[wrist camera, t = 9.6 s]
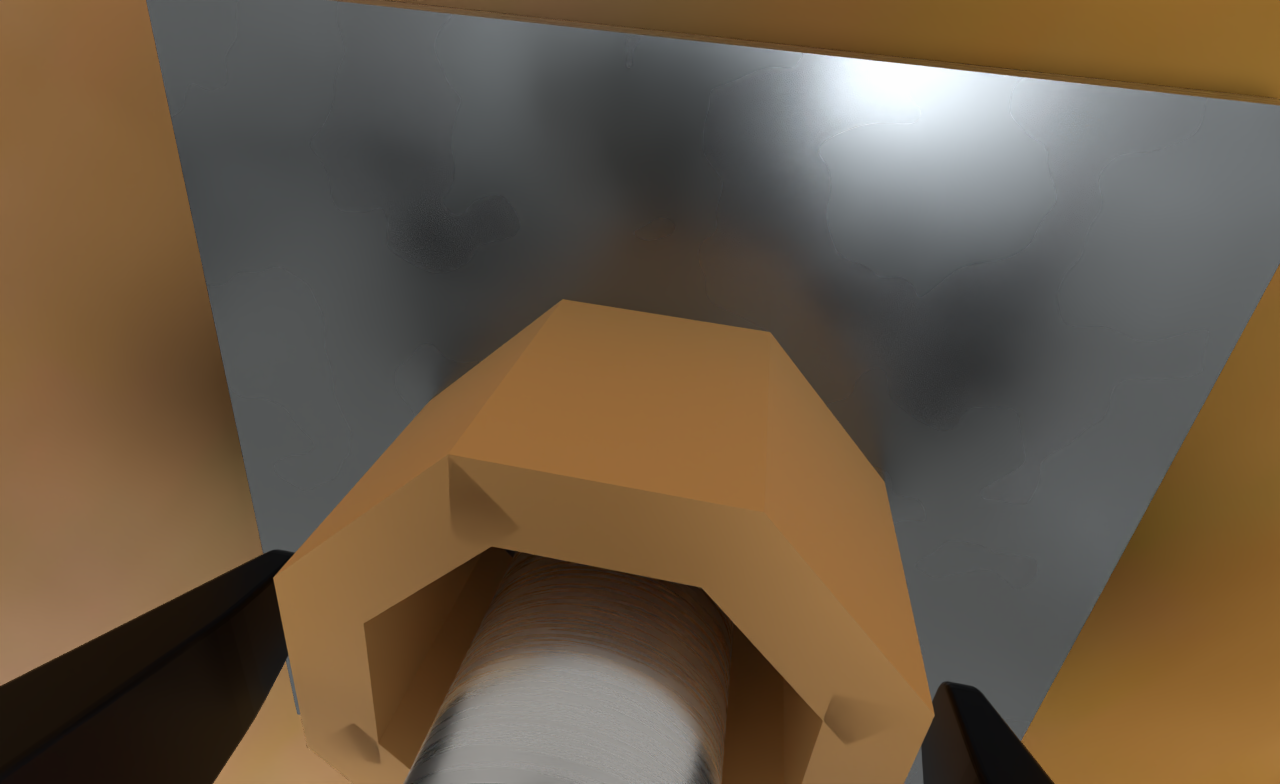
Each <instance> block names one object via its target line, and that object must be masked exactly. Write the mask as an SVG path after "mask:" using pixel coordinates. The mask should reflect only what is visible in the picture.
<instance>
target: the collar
mask: <svg viewBox="0 0 1280 784" xmlns="http://www.w3.org/2000/svg"><path fill="white" fill-rule="evenodd" d="M504 549H508V550H513V551H518V552H523V553H528V554H533V555H538V556H543V557H548V558H554V559H559V560H564V561H569V562H574V563H579V564H584V565H589V566H594V567H599V568H604V569H609V570H615V571H620V572H625V573H630V574H635V575H640V576H645V577H650V578H655V579H660V580H665V581H671V582H676V583H681V584H686V585H691V586H696V587H701V588H702V589H703V590H704V591H705V592H706V593H707V594H708V595H709V596H710V597H711V599H712V600H713V601H714V602H715V603H716V604H717V605H718V606H719V607H720V608H721V610H722V611H723V612H724V613H725V614H726V615H727V616H728V617H729V618H730V619H731V621H732V622H733V623H734V628H733V641H732V654H731V667H730V680H729V693H728V706H727V718H726V731H725V744H724V757H723V770H722V783H721V784H904V782H905V780H906V778H907V776H908V773H909V771H910V769H911V767H912V764H913V762H914V760H915V758H916V756H917V753H918V751H919V749H920V747H921V745H922V742H923V740H924V738H925V736H926V734H927V731H928V729H929V727H930V725H931V722H932V720H933V718H934V716H935V714H934V709H933V705H932V700H931V695H930V691H929V686H928V681H927V677H926V672H925V667H924V663H923V658H922V653H921V649H920V644H919V640H918V635H917V630H916V626H915V621H914V616H913V612H912V607H911V602H910V598H909V593H908V588H907V584H906V579H905V574H904V570H903V565H902V561H901V556H900V551H899V547H898V542H897V537H896V533H895V528H894V523H893V519H892V514H891V509H890V505H889V500H888V495H887V491H886V486H885V482H884V480H883V479H882V478H881V477H880V475H879V474H878V473H877V471H876V470H875V469H874V467H873V466H872V465H871V463H870V462H869V461H868V460H867V458H866V457H865V456H864V454H863V453H862V452H861V450H860V449H859V448H858V446H857V445H856V444H855V442H854V441H853V440H852V439H851V437H850V436H849V435H848V433H847V432H846V431H845V429H844V428H843V427H842V425H841V424H840V423H839V421H838V420H837V419H836V418H835V416H834V415H833V414H832V412H831V411H830V410H829V408H828V407H827V406H826V404H825V403H824V402H823V400H822V399H821V398H820V397H819V395H818V394H817V393H816V391H815V390H814V389H813V387H812V386H811V385H810V383H809V382H808V381H807V380H806V378H805V377H804V376H803V374H802V373H801V372H800V370H799V369H798V368H797V366H796V365H795V364H794V362H793V361H792V360H791V359H790V357H789V356H788V355H787V353H786V352H785V351H784V349H783V348H782V347H781V345H780V344H779V343H778V341H777V340H776V339H775V338H774V336H773V335H772V334H771V332H766V331H760V330H754V329H748V328H741V327H735V326H729V325H722V324H716V323H710V322H703V321H697V320H691V319H685V318H678V317H672V316H666V315H659V314H653V313H647V312H640V311H634V310H628V309H622V308H615V307H609V306H603V305H596V304H590V303H584V302H577V301H571V300H565V299H562V300H561V301H560V302H558V303H557V304H556V305H554V306H553V307H552V308H551V309H549V310H548V311H547V312H545V313H544V314H543V315H541V316H540V317H539V318H537V319H536V320H535V321H534V322H532V323H531V324H530V325H528V326H527V327H526V328H524V329H523V330H522V331H520V332H519V333H518V334H517V335H515V336H514V337H513V338H511V339H510V340H509V341H507V342H506V343H505V344H503V345H502V346H501V347H500V348H498V349H497V350H496V351H494V352H493V353H492V354H490V355H489V356H488V357H486V358H485V359H484V360H483V361H481V362H480V363H479V364H477V365H476V366H475V367H473V368H472V369H471V370H469V371H468V372H467V373H466V374H464V375H463V376H462V377H460V378H459V379H458V380H456V381H455V382H454V383H453V384H451V385H450V386H449V387H447V388H446V389H445V390H443V391H442V392H441V393H439V394H438V395H437V396H436V397H434V398H433V399H432V400H430V401H429V402H428V403H427V404H426V405H425V407H424V408H423V409H422V410H421V411H420V412H419V413H418V415H417V416H416V417H415V418H414V419H413V420H412V421H411V422H410V424H409V425H408V426H407V427H406V428H405V429H404V430H403V431H402V433H401V434H400V435H399V436H398V437H397V438H396V439H395V441H394V442H393V443H392V444H391V445H390V446H389V447H388V448H387V450H386V451H385V452H384V453H383V454H382V455H381V456H380V457H379V459H378V460H377V461H376V462H375V463H374V464H373V465H372V467H371V468H370V469H369V470H368V471H367V472H366V473H365V474H364V476H363V477H362V478H361V479H360V480H359V481H358V482H357V483H356V485H355V486H354V487H353V488H352V489H351V490H350V491H349V493H348V494H347V495H346V496H345V497H344V498H343V499H342V500H341V502H340V503H339V504H338V505H337V506H336V507H335V508H334V509H333V511H332V512H331V513H330V514H329V515H328V516H327V517H326V518H325V520H324V521H323V522H322V523H321V524H320V525H319V526H318V528H317V529H316V530H315V531H314V532H313V533H312V534H311V535H310V537H309V538H308V539H307V540H306V541H305V542H304V543H303V544H302V546H301V547H300V548H299V549H298V550H297V551H296V552H295V554H294V555H293V556H292V557H291V558H290V559H289V560H288V561H287V563H286V564H285V565H284V566H283V567H282V568H281V569H280V570H279V572H278V573H277V574H276V575H275V576H274V577H273V580H274V585H275V590H276V595H277V600H278V605H279V610H280V615H281V620H282V625H283V630H284V635H285V640H286V645H287V650H288V655H289V660H290V665H291V670H292V675H293V680H294V685H295V690H296V695H297V700H298V705H299V710H300V715H301V720H302V725H303V730H304V735H305V740H306V745H307V747H308V748H309V749H310V750H311V751H313V752H314V753H315V754H316V755H318V756H319V757H320V758H321V759H323V760H324V761H325V762H326V763H328V764H329V765H330V766H331V767H333V768H334V769H335V770H336V771H337V772H339V773H340V774H341V775H342V776H344V777H345V778H346V779H347V780H349V781H350V782H351V783H352V784H404V781H405V779H406V777H407V775H408V773H409V771H410V769H411V767H412V765H413V763H414V761H415V759H416V757H417V755H418V753H419V750H420V748H421V746H422V744H423V742H424V740H425V738H426V736H427V734H428V732H429V730H430V728H431V726H432V724H433V722H434V720H435V717H436V715H437V713H438V711H439V709H440V707H441V705H442V703H443V701H444V699H445V697H446V695H447V693H448V691H449V689H450V686H451V684H452V682H453V680H454V678H455V676H456V674H457V672H458V670H459V668H460V666H461V664H462V662H463V660H464V658H465V656H466V653H467V651H468V649H469V647H470V645H471V643H472V641H473V639H474V637H475V635H476V633H477V631H478V629H479V627H480V625H481V623H482V620H483V618H484V616H485V614H486V612H487V610H488V608H489V606H490V604H491V602H492V600H493V598H494V596H495V594H496V592H497V589H498V587H499V585H500V583H501V581H502V579H503V577H504V575H505V573H506V571H507V569H508V567H509V565H510V563H511V561H512V559H513V558H512V557H511V556H510V555H509V554H508V553H507V552H506V551H505V550H504Z"/></svg>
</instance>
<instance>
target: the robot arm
mask: <svg viewBox="0 0 1280 784" xmlns="http://www.w3.org/2000/svg"><path fill="white" fill-rule="evenodd" d="M294 554H295V552H290V551H285V550H280V549H274V550H271V551H268V552H266V553H264V554H262V555H260V556H258V557H256V558H254V559H252V560H250V561H248V562H246V563H244V564H242V565H240V566H238V567H236V568H234V569H232V570H230V571H228V572H226V573H224V574H222V575H220V576H218V577H216V578H214V579H212V580H210V581H208V582H206V583H204V584H202V585H200V586H198V587H196V588H194V589H193V590H191V591H189V592H187V593H185V594H183V595H181V596H179V597H177V598H175V599H173V600H171V601H169V602H167V603H165V604H163V605H161V606H159V607H157V608H155V609H153V610H151V611H149V612H147V613H145V614H143V615H141V616H139V617H137V618H135V619H133V620H131V621H129V622H127V623H125V624H123V625H121V626H119V627H117V628H115V629H113V630H111V631H109V632H107V633H105V634H103V635H101V636H99V637H97V638H95V639H93V640H91V641H89V642H87V643H85V644H83V645H81V646H79V647H77V648H75V649H73V650H71V651H69V652H67V653H65V654H63V655H61V656H59V657H57V658H55V659H53V660H51V661H49V662H47V663H45V664H43V665H41V666H39V667H37V668H35V669H33V670H31V671H29V672H27V673H25V674H23V675H21V676H19V677H17V678H15V679H13V680H11V681H9V682H7V683H5V684H3V685H1V686H0V784H213V783H214V781H215V780H216V778H217V777H218V775H219V774H220V772H221V770H222V769H223V767H224V766H225V764H226V763H227V761H228V760H229V758H230V757H231V755H232V754H233V752H234V751H235V749H236V747H237V746H238V744H239V743H240V741H241V740H242V738H243V737H244V735H245V734H246V732H247V730H248V729H249V727H250V726H251V724H252V722H253V721H254V719H255V718H256V716H257V714H258V712H259V710H260V709H261V707H262V705H263V703H264V701H265V700H266V698H267V696H268V694H269V692H270V690H271V688H272V686H273V684H274V682H275V680H276V678H277V676H278V675H279V673H280V671H281V669H282V667H283V665H284V663H285V661H286V659H287V657H288V650H287V645H286V640H285V635H284V630H283V625H282V620H281V615H280V610H279V605H278V600H277V595H276V590H275V585H274V580H273V577H274V576H275V575H276V574H277V573H278V572H279V570H280V569H281V568H282V567H283V566H284V565H285V564H286V563H287V561H288V560H289V559H290V558H291V557H292V556H293V555H294ZM932 705H933V709H934V714H935V716H934V718H933V720H932V722H931V725H930V727H929V729H928V731H927V734H926V736H925V738H924V740H923V742H922V745H921V752H922V769H923V784H1054V782H1053V781H1052V780H1051V779H1050V777H1049V776H1048V775H1047V774H1046V772H1045V771H1044V770H1043V769H1042V767H1041V766H1040V765H1039V764H1038V762H1037V761H1036V760H1035V758H1034V757H1033V756H1032V755H1031V753H1030V752H1029V751H1028V750H1027V748H1026V747H1025V746H1024V745H1023V743H1022V742H1021V741H1020V740H1019V738H1018V737H1017V736H1016V735H1015V733H1014V732H1013V731H1012V730H1011V728H1010V727H1009V726H1008V725H1007V723H1006V722H1005V721H1004V719H1003V718H1002V717H1001V716H1000V714H999V713H998V712H997V711H996V709H995V708H994V707H993V706H992V704H991V703H990V702H989V701H988V699H987V698H986V697H985V696H984V694H983V693H982V692H981V691H980V690H979V689H977V688H976V687H974V686H970V685H965V684H960V683H955V682H950V681H945V682H942V683H941V684H940V686H939V687H938V689H937V691H936V694H935V696H934V698H933V701H932Z"/></svg>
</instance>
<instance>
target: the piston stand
mask: <svg viewBox="0 0 1280 784" xmlns="http://www.w3.org/2000/svg"><path fill="white" fill-rule="evenodd" d="M146 2H147V6H148V11H149V16H150V21H151V25H152V30H153V35H154V39H155V44H156V49H157V54H158V58H159V63H160V68H161V72H162V77H163V82H164V87H165V91H166V96H167V101H168V106H169V110H170V115H171V120H172V124H173V129H174V134H175V139H176V143H177V148H178V153H179V157H180V162H181V167H182V172H183V176H184V181H185V186H186V191H187V195H188V200H189V205H190V209H191V214H192V219H193V224H194V228H195V233H196V238H197V243H198V247H199V252H200V257H201V261H202V266H203V271H204V276H205V280H206V285H207V290H208V294H209V299H210V304H211V309H212V313H213V318H214V323H215V328H216V332H217V337H218V342H219V346H220V351H221V356H222V361H223V365H224V370H225V375H226V379H227V384H228V389H229V394H230V398H231V403H232V408H233V413H234V417H235V422H236V427H237V431H238V436H239V441H240V446H241V450H242V455H243V460H244V464H245V469H246V474H247V479H248V483H249V488H250V493H251V498H252V502H253V507H254V512H255V516H256V521H257V526H258V531H259V535H260V540H261V545H262V550H263V554H264V553H266V552H268V551H271V550H274V549H280V550H285V551H290V552H296V551H297V550H298V549H299V548H300V547H301V546H302V544H303V543H304V542H305V541H306V540H307V539H308V538H309V537H310V535H311V534H312V533H313V532H314V531H315V530H316V529H317V528H318V526H319V525H320V524H321V523H322V522H323V521H324V520H325V518H326V517H327V516H328V515H329V514H330V513H331V512H332V511H333V509H334V508H335V507H336V506H337V505H338V504H339V503H340V502H341V500H342V499H343V498H344V497H345V496H346V495H347V494H348V493H349V491H350V490H351V489H352V488H353V487H354V486H355V485H356V483H357V482H358V481H359V480H360V479H361V478H362V477H363V476H364V474H365V473H366V472H367V471H368V470H369V469H370V468H371V467H372V465H373V464H374V463H375V462H376V461H377V460H378V459H379V457H380V456H381V455H382V454H383V453H384V452H385V451H386V450H387V448H388V447H389V446H390V445H391V444H392V443H393V442H394V441H395V439H396V438H397V437H398V436H399V435H400V434H401V433H402V431H403V430H404V429H405V428H406V427H407V426H408V425H409V424H410V422H411V421H412V420H413V419H414V418H415V417H416V416H417V415H418V413H419V412H420V411H421V410H422V409H423V408H424V407H425V405H426V404H427V403H428V402H429V401H430V400H432V399H433V398H434V397H436V396H437V395H438V394H439V393H441V392H442V391H443V390H445V389H446V388H447V387H449V386H450V385H451V384H453V383H454V382H455V381H456V380H458V379H459V378H460V377H462V376H463V375H464V374H466V373H467V372H468V371H469V370H471V369H472V368H473V367H475V366H476V365H477V364H479V363H480V362H481V361H483V360H484V359H485V358H486V357H488V356H489V355H490V354H492V353H493V352H494V351H496V350H497V349H498V348H500V347H501V346H502V345H503V344H505V343H506V342H507V341H509V340H510V339H511V338H513V337H514V336H515V335H517V334H518V333H519V332H520V331H522V330H523V329H524V328H526V327H527V326H528V325H530V324H531V323H532V322H534V321H535V320H536V319H537V318H539V317H540V316H541V315H543V314H544V313H545V312H547V311H548V310H549V309H551V308H552V307H553V306H554V305H556V304H557V303H558V302H560V301H561V300H562V299H565V300H571V301H577V302H584V303H590V304H596V305H603V306H609V307H615V308H622V309H628V310H634V311H640V312H647V313H653V314H659V315H666V316H672V317H678V318H685V319H691V320H697V321H703V322H710V323H716V324H722V325H729V326H735V327H741V328H748V329H754V330H760V331H766V332H771V334H772V335H773V336H774V338H775V339H776V340H777V341H778V343H779V344H780V345H781V347H782V348H783V349H784V351H785V352H786V353H787V355H788V356H789V357H790V359H791V360H792V361H793V362H794V364H795V365H796V366H797V368H798V369H799V370H800V372H801V373H802V374H803V376H804V377H805V378H806V380H807V381H808V382H809V383H810V385H811V386H812V387H813V389H814V390H815V391H816V393H817V394H818V395H819V397H820V398H821V399H822V400H823V402H824V403H825V404H826V406H827V407H828V408H829V410H830V411H831V412H832V414H833V415H834V416H835V418H836V419H837V420H838V421H839V423H840V424H841V425H842V427H843V428H844V429H845V431H846V432H847V433H848V435H849V436H850V437H851V439H852V440H853V441H854V442H855V444H856V445H857V446H858V448H859V449H860V450H861V452H862V453H863V454H864V456H865V457H866V458H867V460H868V461H869V462H870V463H871V465H872V466H873V467H874V469H875V470H876V471H877V473H878V474H879V475H880V477H881V478H882V479H883V480H884V482H885V486H886V491H887V495H888V500H889V505H890V509H891V514H892V519H893V523H894V528H895V533H896V537H897V542H898V547H899V551H900V556H901V561H902V565H903V570H904V574H905V579H906V584H907V588H908V593H909V598H910V602H911V607H912V612H913V616H914V621H915V626H916V630H917V635H918V640H919V644H920V649H921V653H922V658H923V663H924V667H925V672H926V677H927V681H928V686H929V691H930V695H931V700H932V701H933V698H934V696H935V694H936V691H937V689H938V687H939V686H940V684H941V683H942V682H945V681H950V682H955V683H960V684H965V685H970V686H974V687H976V688H977V689H979V690H980V691H981V692H982V693H983V694H984V696H985V697H986V698H987V699H988V701H989V702H990V703H991V704H992V706H993V707H994V708H995V709H996V711H997V712H998V713H999V714H1000V716H1001V717H1002V718H1003V719H1004V721H1005V722H1006V723H1007V725H1008V726H1009V727H1010V728H1011V730H1012V731H1013V732H1014V733H1015V735H1016V736H1017V737H1018V738H1019V740H1020V741H1021V740H1022V738H1023V736H1024V734H1025V733H1026V731H1027V729H1028V727H1029V725H1030V723H1031V722H1032V720H1033V718H1034V716H1035V714H1036V712H1037V710H1038V709H1039V707H1040V705H1041V703H1042V701H1043V699H1044V698H1045V696H1046V694H1047V692H1048V690H1049V688H1050V686H1051V685H1052V683H1053V681H1054V679H1055V677H1056V675H1057V674H1058V672H1059V670H1060V668H1061V666H1062V664H1063V662H1064V661H1065V659H1066V657H1067V655H1068V653H1069V651H1070V650H1071V648H1072V646H1073V644H1074V642H1075V640H1076V638H1077V637H1078V635H1079V633H1080V631H1081V629H1082V627H1083V626H1084V624H1085V622H1086V620H1087V618H1088V616H1089V615H1090V613H1091V611H1092V609H1093V607H1094V605H1095V603H1096V602H1097V600H1098V598H1099V596H1100V594H1101V592H1102V591H1103V589H1104V587H1105V585H1106V583H1107V581H1108V579H1109V578H1110V576H1111V574H1112V572H1113V570H1114V568H1115V567H1116V565H1117V563H1118V561H1119V559H1120V557H1121V555H1122V554H1123V552H1124V550H1125V548H1126V546H1127V544H1128V543H1129V541H1130V539H1131V537H1132V535H1133V533H1134V531H1135V530H1136V528H1137V526H1138V524H1139V522H1140V520H1141V519H1142V517H1143V515H1144V513H1145V511H1146V509H1147V507H1148V506H1149V504H1150V502H1151V500H1152V498H1153V496H1154V495H1155V493H1156V491H1157V489H1158V487H1159V485H1160V483H1161V482H1162V480H1163V478H1164V476H1165V474H1166V472H1167V471H1168V469H1169V467H1170V465H1171V463H1172V461H1173V459H1174V458H1175V456H1176V454H1177V452H1178V450H1179V448H1180V447H1181V445H1182V443H1183V441H1184V439H1185V437H1186V436H1187V434H1188V432H1189V430H1190V428H1191V426H1192V424H1193V423H1194V421H1195V419H1196V417H1197V415H1198V413H1199V412H1200V410H1201V408H1202V406H1203V404H1204V402H1205V400H1206V399H1207V397H1208V395H1209V393H1210V391H1211V389H1212V388H1213V386H1214V384H1215V382H1216V380H1217V378H1218V376H1219V375H1220V373H1221V371H1222V369H1223V367H1224V365H1225V364H1226V362H1227V360H1228V358H1229V356H1230V354H1231V352H1232V351H1233V349H1234V347H1235V345H1236V343H1237V341H1238V340H1239V338H1240V336H1241V334H1242V332H1243V330H1244V328H1245V327H1246V325H1247V323H1248V321H1249V319H1250V317H1251V316H1252V314H1253V312H1254V310H1255V308H1256V306H1257V304H1258V303H1259V301H1260V299H1261V297H1262V295H1263V293H1264V292H1265V290H1266V288H1267V286H1268V284H1269V282H1270V280H1271V279H1272V277H1273V275H1274V273H1275V271H1276V269H1277V268H1278V266H1279V264H1280V99H1277V98H1270V97H1261V96H1251V95H1242V94H1233V93H1224V92H1215V91H1206V90H1197V89H1188V88H1179V87H1170V86H1160V85H1151V84H1142V83H1133V82H1124V81H1115V80H1106V79H1097V78H1088V77H1078V76H1069V75H1060V74H1051V73H1042V72H1033V71H1024V70H1015V69H1006V68H997V67H987V66H978V65H969V64H960V63H951V62H942V61H933V60H924V59H915V58H905V57H896V56H887V55H878V54H869V53H860V52H851V51H842V50H833V49H824V48H814V47H805V46H796V45H787V44H778V43H769V42H760V41H751V40H742V39H733V38H723V37H714V36H705V35H696V34H687V33H678V32H669V31H660V30H651V29H641V28H632V27H623V26H614V25H605V24H596V23H587V22H578V21H569V20H560V19H550V18H541V17H532V16H523V15H514V14H505V13H496V12H487V11H478V10H468V9H459V8H450V7H441V6H432V5H423V4H414V3H405V2H396V1H387V0H146ZM504 550H505V551H506V552H507V553H508V554H509V555H510V556H511V557H512V558H513V559H512V561H511V563H510V565H509V567H508V569H507V571H506V573H505V575H504V577H503V579H502V581H501V583H500V585H499V587H498V589H497V592H496V594H495V596H494V598H493V600H492V602H491V604H490V606H489V608H488V610H487V612H486V614H485V616H484V618H483V620H482V623H481V625H480V627H479V629H478V631H477V633H476V635H475V637H474V639H473V641H472V643H471V645H470V647H469V649H468V651H467V653H466V656H465V658H464V660H463V662H462V664H461V666H460V668H459V670H458V672H457V674H456V676H455V678H454V680H453V682H452V684H451V686H450V689H449V691H448V693H447V695H446V697H445V699H444V701H443V703H442V705H441V707H440V709H439V711H438V713H437V715H436V717H435V720H434V722H433V724H432V726H431V728H430V730H429V732H428V734H427V736H426V738H425V740H424V742H423V744H422V746H421V748H420V750H419V753H418V755H417V757H416V759H415V761H414V763H413V765H412V767H411V769H410V771H409V773H408V775H407V777H406V779H405V781H404V784H721V783H722V770H723V757H724V744H725V731H726V718H727V706H728V693H729V680H730V667H731V654H732V641H733V628H734V623H733V622H732V621H731V619H730V618H729V617H728V616H727V615H726V614H725V613H724V612H723V611H722V610H721V608H720V607H719V606H718V605H717V604H716V603H715V602H714V601H713V600H712V599H711V597H710V596H709V595H708V594H707V593H706V592H705V591H704V590H703V589H702V588H701V587H696V586H691V585H686V584H681V583H676V582H671V581H665V580H660V579H655V578H650V577H645V576H640V575H635V574H630V573H625V572H620V571H615V570H609V569H604V568H599V567H594V566H589V565H584V564H579V563H574V562H569V561H564V560H559V559H554V558H548V557H543V556H538V555H533V554H528V553H523V552H518V551H513V550H508V549H504ZM286 663H287V668H288V672H289V677H290V682H291V686H292V691H293V696H294V701H295V705H296V710H297V714H299V715H300V710H299V705H298V700H297V695H296V690H295V685H294V680H293V675H292V670H291V665H290V660H289V655H288V657H287V659H286ZM904 784H923V769H922V752H921V747H920V749H919V751H918V753H917V756H916V758H915V760H914V762H913V764H912V767H911V769H910V771H909V773H908V776H907V778H906V780H905V782H904Z"/></svg>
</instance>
